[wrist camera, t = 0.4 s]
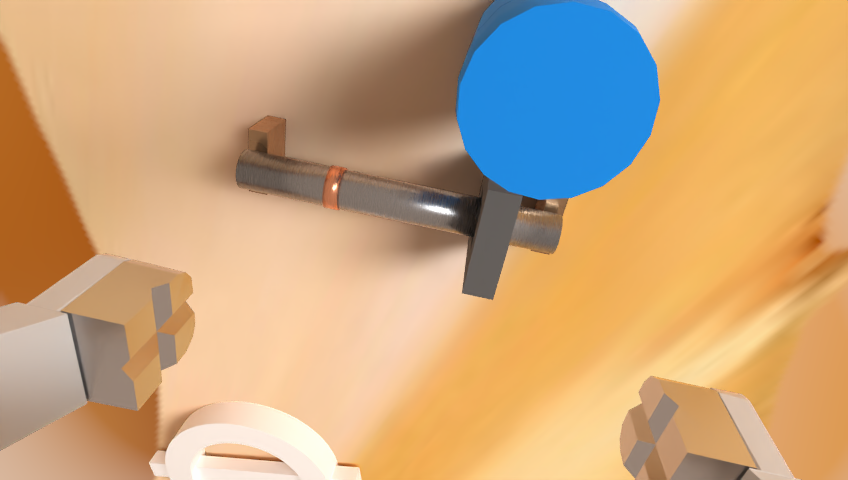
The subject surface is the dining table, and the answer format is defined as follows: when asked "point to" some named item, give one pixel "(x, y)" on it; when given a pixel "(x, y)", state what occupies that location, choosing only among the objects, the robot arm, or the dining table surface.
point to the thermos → (555, 96)
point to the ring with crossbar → (254, 426)
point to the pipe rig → (381, 193)
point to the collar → (490, 239)
